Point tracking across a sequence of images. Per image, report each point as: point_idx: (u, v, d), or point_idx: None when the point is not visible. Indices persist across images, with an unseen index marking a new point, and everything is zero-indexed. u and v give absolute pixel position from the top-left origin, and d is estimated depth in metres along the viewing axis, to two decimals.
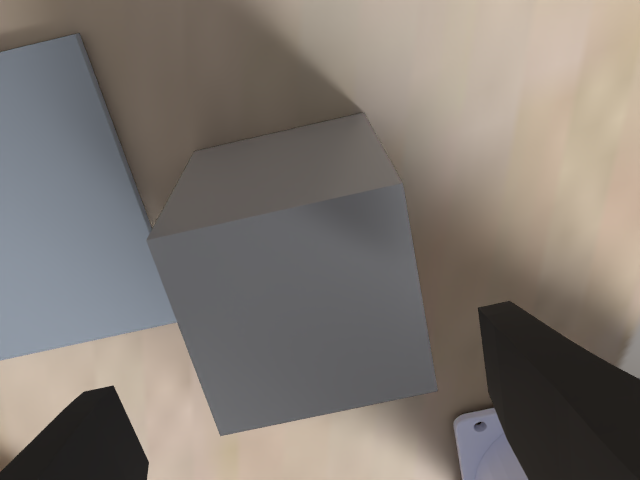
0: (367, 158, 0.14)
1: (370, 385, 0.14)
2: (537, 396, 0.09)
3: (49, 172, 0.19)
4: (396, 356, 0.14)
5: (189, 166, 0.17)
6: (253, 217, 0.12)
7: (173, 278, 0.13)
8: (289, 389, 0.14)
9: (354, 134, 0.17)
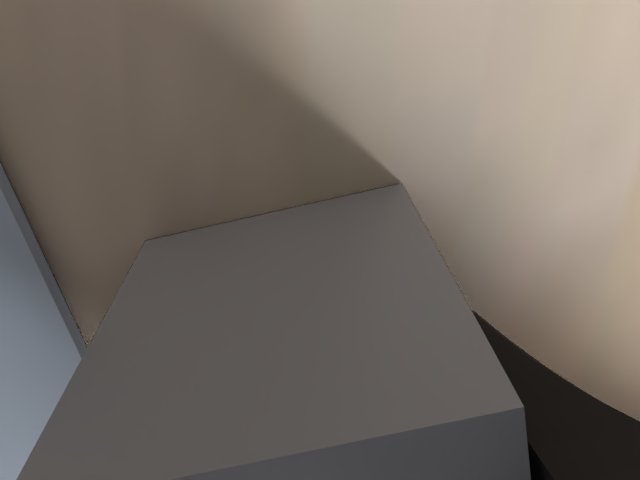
0: (429, 305, 0.08)
1: None
2: None
3: None
4: None
5: (130, 277, 0.11)
6: (214, 473, 0.06)
7: None
8: None
9: (394, 234, 0.10)
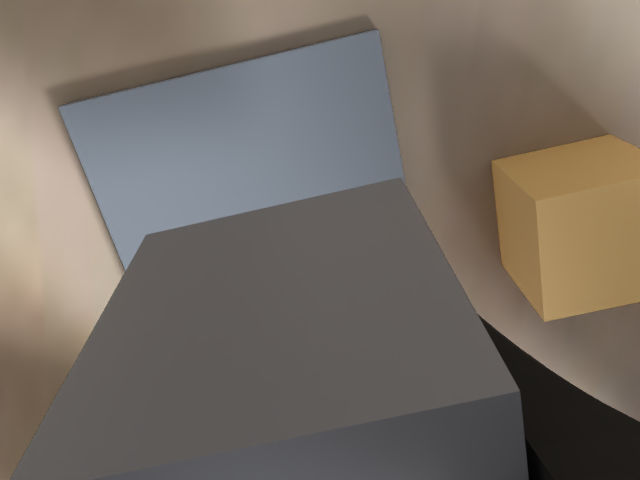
0: (427, 294, 0.08)
1: None
2: None
3: (328, 165, 0.19)
4: None
5: (131, 270, 0.11)
6: (215, 456, 0.06)
7: None
8: None
9: (393, 226, 0.10)
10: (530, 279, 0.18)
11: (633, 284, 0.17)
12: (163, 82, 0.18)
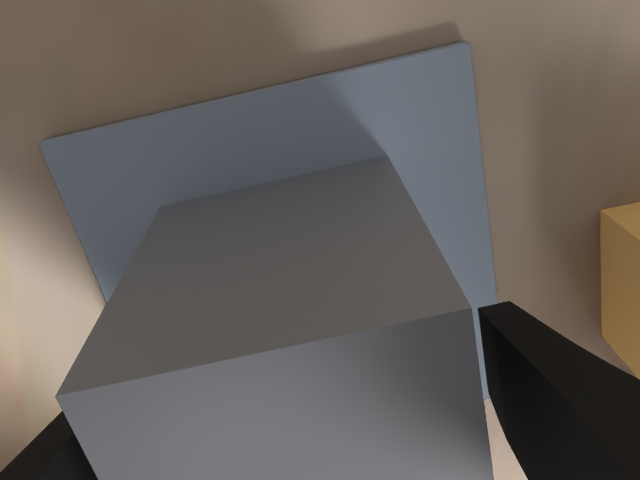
0: (404, 244, 0.10)
1: None
2: (537, 396, 0.09)
3: None
4: None
5: (149, 234, 0.13)
6: (229, 361, 0.08)
7: (103, 448, 0.08)
8: None
9: (379, 194, 0.12)
10: None
11: None
12: (179, 111, 0.13)
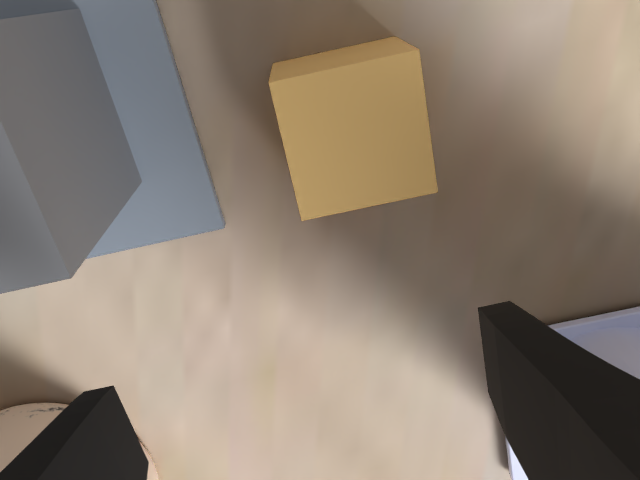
0: None
1: None
2: (537, 396, 0.09)
3: None
4: (12, 236, 0.13)
5: None
6: None
7: None
8: None
9: None
10: None
11: (389, 180, 0.17)
12: None
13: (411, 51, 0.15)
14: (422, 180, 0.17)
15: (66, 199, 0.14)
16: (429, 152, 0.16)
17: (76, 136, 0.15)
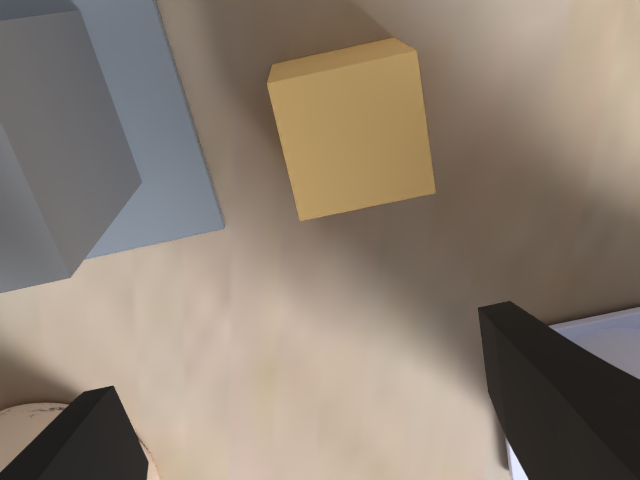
0: None
1: None
2: (537, 396, 0.09)
3: None
4: (12, 235, 0.13)
5: None
6: None
7: None
8: None
9: None
10: None
11: (387, 180, 0.17)
12: None
13: (409, 52, 0.15)
14: (420, 181, 0.17)
15: (66, 199, 0.14)
16: (427, 153, 0.16)
17: (76, 137, 0.15)
